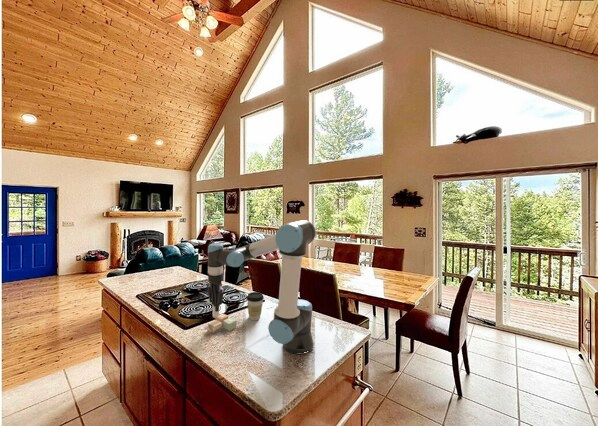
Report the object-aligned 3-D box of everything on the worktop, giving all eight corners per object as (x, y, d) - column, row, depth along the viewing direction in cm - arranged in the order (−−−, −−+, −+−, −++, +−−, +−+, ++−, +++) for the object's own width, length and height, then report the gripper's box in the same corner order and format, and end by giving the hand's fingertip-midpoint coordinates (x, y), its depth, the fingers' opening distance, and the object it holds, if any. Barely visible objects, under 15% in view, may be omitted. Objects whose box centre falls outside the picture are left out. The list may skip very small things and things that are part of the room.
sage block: (236, 327, 156) (236, 320, 156) (229, 330, 152) (229, 323, 152) (230, 324, 159) (230, 316, 159) (223, 327, 155) (223, 320, 155)
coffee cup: (259, 324, 162) (260, 299, 160) (243, 322, 164) (244, 297, 162) (265, 316, 172) (266, 292, 170) (249, 314, 173) (250, 290, 172)
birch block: (221, 330, 153) (221, 322, 152) (213, 333, 149) (213, 326, 148) (216, 326, 156) (216, 319, 155) (208, 330, 152) (208, 323, 151)
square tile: (236, 329, 156) (236, 327, 156) (218, 338, 147) (218, 336, 147) (222, 321, 164) (222, 319, 164) (204, 329, 154) (204, 327, 154)
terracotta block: (228, 322, 161) (228, 315, 160) (220, 326, 157) (220, 319, 156) (222, 319, 164) (222, 312, 163) (215, 323, 160) (215, 315, 159)
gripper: (229, 274, 147) (229, 317, 150) (214, 268, 155) (214, 310, 158) (217, 278, 141) (217, 323, 144) (201, 272, 149) (202, 314, 152)
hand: (215, 316), depth 151 cm, fingers closed
